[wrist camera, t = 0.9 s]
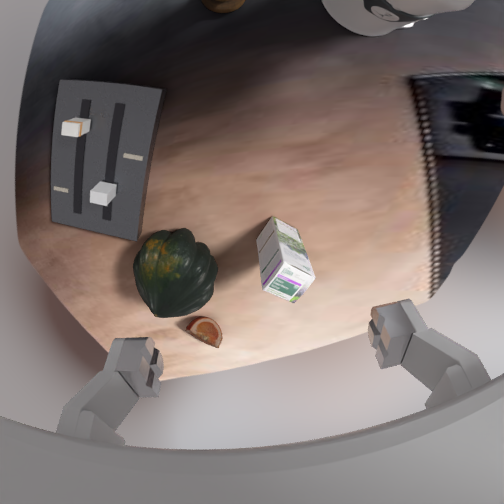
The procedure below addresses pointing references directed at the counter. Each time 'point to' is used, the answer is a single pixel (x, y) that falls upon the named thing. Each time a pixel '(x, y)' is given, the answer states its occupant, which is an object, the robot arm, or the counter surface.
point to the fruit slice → (205, 331)
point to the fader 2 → (103, 193)
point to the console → (104, 154)
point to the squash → (174, 273)
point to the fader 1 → (75, 127)
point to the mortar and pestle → (223, 5)
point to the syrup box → (283, 261)
